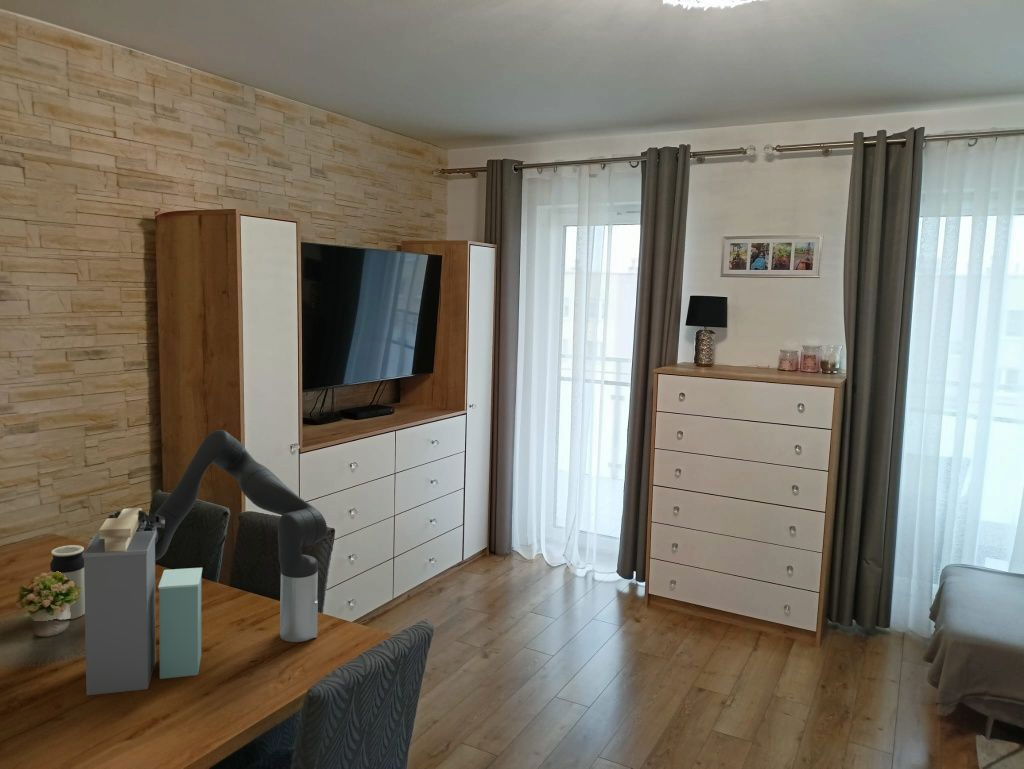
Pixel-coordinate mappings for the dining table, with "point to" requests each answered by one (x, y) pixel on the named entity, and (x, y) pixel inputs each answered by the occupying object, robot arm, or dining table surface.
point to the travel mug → (71, 572)
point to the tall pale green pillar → (180, 622)
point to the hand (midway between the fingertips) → (129, 515)
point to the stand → (120, 615)
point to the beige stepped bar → (120, 530)
